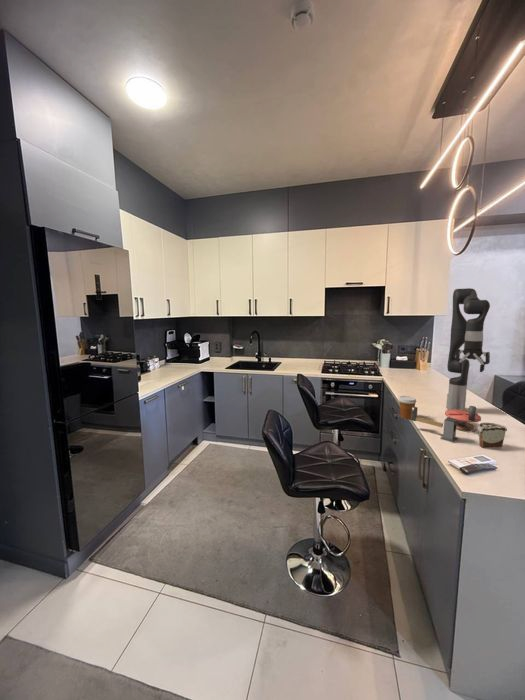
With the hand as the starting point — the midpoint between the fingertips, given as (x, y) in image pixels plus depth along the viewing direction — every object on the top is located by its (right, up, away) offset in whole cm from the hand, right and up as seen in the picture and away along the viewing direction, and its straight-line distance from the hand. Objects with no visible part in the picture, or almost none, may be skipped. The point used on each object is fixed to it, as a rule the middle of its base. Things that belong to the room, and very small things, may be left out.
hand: (471, 370), depth 149 cm
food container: (-2, -35, -13) cm, 37 cm away
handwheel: (0, -30, +7) cm, 30 cm away
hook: (-23, -28, +1) cm, 36 cm away
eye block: (-15, -34, -6) cm, 38 cm away
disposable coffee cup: (-23, -30, +22) cm, 43 cm away
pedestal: (0, -31, +7) cm, 32 cm away
